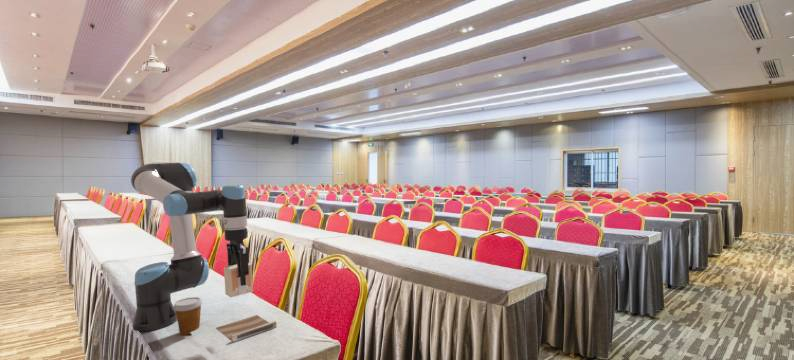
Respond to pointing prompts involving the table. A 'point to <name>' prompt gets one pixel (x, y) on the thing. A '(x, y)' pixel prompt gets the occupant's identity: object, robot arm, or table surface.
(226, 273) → the carton
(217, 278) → the table surface
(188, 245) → the robot arm
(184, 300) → the disposable coffee cup
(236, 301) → the table surface
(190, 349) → the table surface
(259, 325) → the shelf board
